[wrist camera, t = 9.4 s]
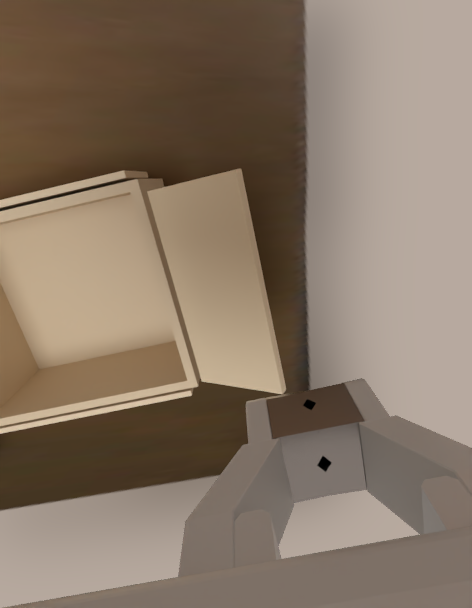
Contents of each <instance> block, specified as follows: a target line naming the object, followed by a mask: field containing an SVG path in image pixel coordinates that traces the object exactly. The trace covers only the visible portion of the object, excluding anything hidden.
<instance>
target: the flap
mask: <svg viewBox="0 0 472 608" xmlns="http://www.w3.org/2000/svg"><path fill="white" fill-rule="evenodd" d="M147 193H148V196H149V200H150V203H151V207H152V210H153V214H154V217H155V221H156V224H157V228H158V231H159V235H160V238H161V242H162V245H163V248H164V252H165V255H166V259H167V262H168V266H169V269H170V273H171V276H172V280H173V283H174V287H175V290H176V294H177V297H178V300H179V304H180V307H181V311H182V314H183V318H184V321H185V325H186V328H187V332H188V335H189V339H190V342H191V346H192V349H193V352H194V356H195V359H196V363H197V366H198V370H199V373H200V377H201V380H202V381H203V382H209V383H215V384H222V385H228V386H234V387H241V388H247V389H253V390H259V391H266V392H272V393H278V394H283V393H284V391H285V390H286V386H285V381H284V376H283V371H282V366H281V362H280V357H279V352H278V347H277V342H276V337H275V332H274V327H273V322H272V317H271V312H270V308H269V303H268V298H267V293H266V288H265V283H264V278H263V273H262V268H261V263H260V258H259V254H258V249H257V244H256V239H255V234H254V229H253V224H252V219H251V214H250V209H249V204H248V200H247V195H246V190H245V185H244V180H243V175H242V170H241V168H240V169H236V170H232V171H228V172H223V173H219V174H215V175H211V176H207V177H203V178H199V179H195V180H191V181H187V182H183V183H179V184H175V185H171V186H167V187H163V188H159V189H155V190H151V191H147Z"/></svg>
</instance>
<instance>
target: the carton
mask: <svg viewBox="0 0 472 608" xmlns="http://www.w3.org/2000/svg"><path fill="white" fill-rule="evenodd" d="M145 178H148V174H147V172H141V171H126V170H123V171H119V172H115V173H111V174H107V175H102V176H98V177H94V178H90V179H86V180H82V181H77V182H73V183H69V184H65V185H61V186H57V187H53V188H48V189H44V190H40V191H36V192H32V193H28V194H23V195H19V196H15V197H11V198H7V199H3V200H0V434H1V433H6V432H11V431H16V430H21V429H26V428H31V427H36V426H41V425H46V424H51V423H56V422H61V421H66V420H71V419H76V418H81V417H86V416H91V415H96V414H101V413H106V412H111V411H116V410H121V409H126V408H131V407H136V406H141V405H146V404H151V403H156V402H161V401H166V400H171V399H177V398H182V397H187V396H192V393H193V387H198V384H199V378H200V373H199V370H198V366H197V363H196V359H195V356H194V352H193V349H192V346H191V342H190V339H189V335H188V332H187V328H186V325H185V321H184V318H183V314H182V311H181V307H180V304H179V300H178V297H177V294H176V290H175V287H174V283H173V280H172V276H171V273H170V269H169V266H168V262H167V259H166V255H165V252H164V248H163V245H162V242H161V238H160V235H159V231H158V228H157V224H156V221H155V217H154V214H153V210H152V207H151V203H150V200H149V196H148V193H147V191H151V190H155V189H159V188H163V187H164V183H163V180H162V178H161V179H145Z"/></svg>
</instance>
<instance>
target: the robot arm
mask: <svg viewBox="0 0 472 608" xmlns="http://www.w3.org/2000/svg"><path fill="white" fill-rule="evenodd" d="M246 416H247V430H248V444H246V445H242V447H241V448H240V449H239V451H238V452H237V453H236V455H235V456H234V457H233V459H232V460H231V461H230V463H229V464H228V465H227V467H226V468H225V469H224V471H223V472H222V473H221V475H220V476H219V477H218V479H217V480H216V481H215V483H214V484H213V486H212V487H211V488H210V489H209V491H208V492H207V493H206V495H205V496H204V497H203V499H202V500H201V501H200V503H199V504H198V505H197V507H196V508H195V509H194V511H193V512H192V514H191V515H190V516H189V517H188V519H187V520H186V522H185V529H184V537H183V544H182V552H181V559H180V568H179V575H178V577H176V578H170V579H164V580H159V581H153V582H147V583H142V584H136V585H130V586H124V587H119V588H113V589H107V590H101V591H96V592H90V593H85V594H79V595H73V596H67V597H61V598H56V599H50V600H44V601H39V602H33V603H27V604H21V605H15V606H10V607H4V608H472V448H470V447H468V446H466V445H463V444H461V443H459V442H456V441H454V440H452V439H450V438H447V437H445V436H442V435H440V434H437V433H436V432H433V431H431V430H429V429H426V428H424V427H422V426H419V425H417V424H415V423H412V422H410V421H408V420H405V419H403V418H401V417H398V416H391V417H390V416H389V414H388V413H387V412H386V410H385V409H384V407H383V406H382V404H381V403H380V401H379V400H378V398H377V397H376V395H375V394H374V392H373V391H372V389H371V388H370V387H369V385H368V384H367V382H366V381H365V380H364V379H362V378H361V379H357V380H353V381H349V382H344V383H341V384H336V385H332V386H327V387H323V388H318V389H314V390H309V391H301V392H296V393H290V394H284V395H279V396H273V397H268V398H266V399H265V398H262V399H257V400H252V401H247V402H246ZM361 490H368V492H369V493H370V494H372V495H373V496H374V497H375V498H376V499H378V500H379V501H380V502H381V503H383V504H384V505H385V506H386V507H388V508H389V509H390V510H391V511H392V512H394V513H395V514H396V515H397V516H398V517H400V518H401V519H402V520H403V521H404V522H406V523H407V524H408V525H409V526H411V527H412V528H413V529H414V530H416V531H417V532H418V533H419V534H420V535H416V536H410V537H404V538H399V539H393V540H387V541H382V542H376V543H370V544H365V545H359V546H353V547H347V548H342V549H336V550H330V551H325V552H319V553H313V554H308V555H302V556H296V557H291V558H285V559H281V555H280V552H279V547H278V546H279V543H280V540H281V538H282V536H283V533H284V530H285V528H286V525H287V523H288V520H289V517H290V515H291V512H292V510H293V507H294V503H296V502H300V501H305V500H310V499H314V498H319V497H324V496H329V495H335V494H342V493H348V492H354V491H361Z"/></svg>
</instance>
